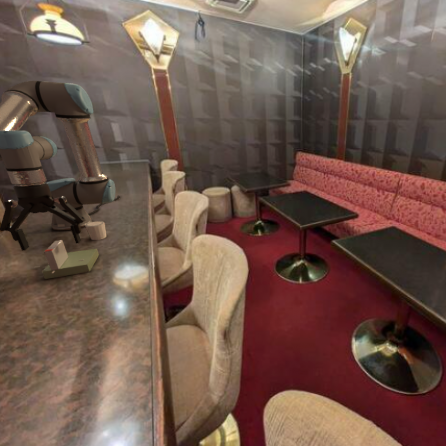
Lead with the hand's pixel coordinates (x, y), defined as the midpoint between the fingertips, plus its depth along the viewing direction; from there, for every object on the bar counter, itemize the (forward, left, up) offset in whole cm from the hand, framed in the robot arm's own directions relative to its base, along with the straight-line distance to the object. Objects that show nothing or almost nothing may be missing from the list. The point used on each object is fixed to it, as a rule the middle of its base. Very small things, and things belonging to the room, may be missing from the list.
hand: (53, 245), depth 83 cm
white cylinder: (-29, +5, -11) cm, 31 cm away
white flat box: (0, 0, -7) cm, 7 cm away
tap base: (-1, +1, -10) cm, 10 cm away
